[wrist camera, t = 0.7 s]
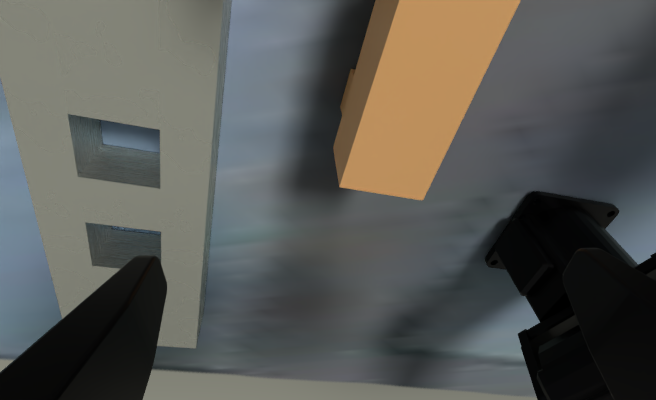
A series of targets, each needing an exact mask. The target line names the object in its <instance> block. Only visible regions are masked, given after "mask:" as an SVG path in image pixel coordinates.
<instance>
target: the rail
mask: <svg viewBox="0 0 656 400" xmlns="http://www.w3.org/2000/svg"><path fill="white" fill-rule="evenodd" d="M231 3H232V0H0V78H1V82H2V85H3V89H4V93H5V97H6V101H7V105H8V109H9V113H10V117H11V121H12V124H13V128H14V132H15V136H16V140H17V144H18V148H19V152H20V156H21V160H22V163H23V167H24V171H25V175H26V179H27V183H28V187H29V191H30V195H31V199H32V202H33V206H34V210H35V214H36V218H37V222H38V226H39V230H40V234H41V238H42V241H43V245H44V249H45V253H46V257H47V261H48V265H49V269H50V273H51V277H52V280H53V284H54V288H55V292H56V296H57V300H58V304H59V308H60V312H61V316H62V319H63V318H64V317H65V316H66V315H67V314H69V313H70V312H71V311H72V310H73V309H74V308H76V307H77V306H78V305H79V304H80V303H81V302H83V301H84V300H85V299H86V298H87V297H88V296H89V295H91V294H92V293H93V292H94V291H95V290H96V289H98V288H99V287H100V286H101V285H102V284H103V283H105V282H106V281H107V280H108V279H109V278H110V277H112V276H113V275H114V274H115V273H116V272H117V271H119V270H120V269H121V268H122V267H123V266H124V265H125V264H127V263H128V262H129V261H130V260H131V259H132V258H134V257H136V256H139V255H155V256H157V257H158V258H159V260H160V262H161V265H162V269H163V272H164V275H165V278H166V281H167V295H166V300H165V305H164V311H163V316H162V322H161V327H160V332H159V338H158V343H157V346H167V347H182V348H196V346H197V341H198V336H199V332H200V327H201V322H202V318H203V313H204V303H205V292H206V281H207V270H208V258H209V247H210V236H211V225H212V214H213V203H214V192H215V181H216V170H217V158H218V147H219V136H220V125H221V114H222V103H223V92H224V81H225V70H226V58H227V47H228V36H229V25H230V14H231ZM100 120H106V121H111V122H117V123H123V124H129V125H135V126H140V127H146V128H152V129H158V130H160V153H153V152H147V151H141V150H135V149H129V148H122V147H116V146H110V145H104V144H103V143H102V134H101V125H100ZM112 226H119V227H127V228H135V229H143V230H151V231H160V232H161V235H156V234H148V233H140V232H132V231H123V230H115V229H112Z"/></svg>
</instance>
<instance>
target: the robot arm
mask: <svg viewBox="0 0 656 400" xmlns="http://www.w3.org/2000/svg"><path fill="white" fill-rule="evenodd" d="M537 198H538V199H537ZM535 199H537V200H535ZM534 200H535V201H534ZM618 213H619V209H618V208H617V207H616V206H615V205H613V204H608V203H603V202H597V201H591V200H586V199H580V198H574V197H568V196H563V195H557V194H551V193H546V192H540V191H535V192H532V193H531V194H529V195H528V196H527V198H526V199H525V201H524V202H523V204H522V205H521V207H520V208H519V210H518V211H517V212H516V214H515V215H514V217H513V218H512V220H511V221H510V223H509V224H508V226H507V227H506V229H505V230H504V232H503V233H502V234H501V236H500V237H499V239H498V240H497V242H496V243H495V245H494V246H493V248H492V249H491V251H490V252H489V253H488V255H487V256H486V258H485V262H486V264H487V266H488V267H491V268H499V269H506V270H507V271H508V273H509V275H510V277H511V278H512V280H513V282H514V284H515V285H516V287H517V289H518V291H519V292H520V294H521V295H522V296H525V297H526V298H527V300H528V302H529V304H530V305H531V307H532V309H533V310H534V312H535V314H536V316H537V317H538V319H539V321H540V323H538V324H537V325H535V326H533V327H532V328H530V329H528V330H527V329H525V330H523V331H521V332H520V333H518V337H519V340H520V343H521V349H522V352H523V355H524V358H525V361H526V365H527V368H528V371H529V374H530V377H531V380H532V383H533V387H534V390H535V393H536V396H537V399H538V400H656V253H654V254H652V255H651V258H649V259H648V260H646V261H644V262H643V263H641V264H639V265H638V264H637V263H636V262H635V261H634V260H633V259H632V257H631V256H630V255H629V254H628V253H627V252H626V251H625V250H624V249H623V248H622V247H621V246H620V245H619V244H618V243H617V241H616V240H615V239H614V238H613V237H612V236H611V235H610V234H609V233H608V232H607V231H606V230H605V228H606V227H607V226H608V225H609V224H610V223H611V222H612V221H613V219H614V218H615V217H616V216H617V215H618ZM166 295H167V281H166V278H165V275H164V272H163V269H162V265H161V262H160V260H159V258H158V257H157V256H155V255H139V256H136V257H134V258H132V259H131V260H130V261H129V262H128V263H127V264H125V265H124V266H123V267H122V268H121V269H120V270H119V271H117V272H116V273H115V274H114V275H113V276H112V277H110V278H109V279H108V280H107V281H106V282H105V283H103V284H102V285H101V286H100V287H99V288H98V289H96V290H95V291H94V292H93V293H92V294H91V295H89V296H88V297H87V298H86V299H85V300H84V301H83V302H81V303H80V304H79V305H78V306H77V307H76V308H74V309H73V310H72V311H71V312H70V313H69V314H67V315H66V316H65V317H64V318H63V319H62V320H60V321H59V322H58V323H57V324H56V325H55V326H53V327H52V328H51V329H50V330H49V331H48V332H47V333H45V334H44V335H43V336H42V337H41V338H40V339H38V340H37V341H36V342H35V343H34V344H33V345H31V346H30V347H29V348H28V349H27V350H26V351H24V352H23V353H22V354H21V355H20V356H19V357H17V358H16V359H15V360H14V361H13V362H12V363H11V364H9V365H8V366H7V367H6V368H5V369H4V370H2V371H1V372H0V400H142V399H143V396H144V393H145V390H146V386H147V383H148V380H149V376H150V373H151V370H152V366H153V363H154V358H155V353H156V348H157V343H158V338H159V332H160V327H161V322H162V316H163V311H164V305H165V300H166Z"/></svg>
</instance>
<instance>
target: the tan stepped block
mask: <svg viewBox="0 0 656 400" xmlns="http://www.w3.org/2000/svg"><path fill="white" fill-rule="evenodd" d="M519 3H520V0H375V4H374V7H373V11H372V14H371V18H370V21H369V25H368V28H367V32H366V35H365V38H364V42H363V45H362V49H361V52H360V56H359V59H358V63H357V66H356V70H355V69H351V70H350V73H349V77H348V81H347V84H346V88H345V91H344V95H343V98H342V102H341V105H340V108H341V112H342V118H341V122H340V125H339V129H338V132H337V136H336V139H335V142H334V146H333V151H334V157H335V163H336V170H337V176H338V182H339V187H341V188H348V189H354V190H360V191H366V192H373V193H379V194H385V195H392V196H398V197H404V198H410V199H417V200H423V199H424V197H425V195H426V193H427V191H428V189H429V187H430V185H431V183H432V181H433V179H434V177H435V174H436V172H437V170H438V168H439V166H440V164H441V162H442V160H443V158H444V156H445V154H446V152H447V150H448V148H449V146H450V144H451V142H452V140H453V138H454V136H455V134H456V131H457V129H458V127H459V125H460V123H461V121H462V119H463V117H464V115H465V113H466V111H467V109H468V107H469V105H470V103H471V101H472V99H473V97H474V95H475V93H476V91H477V89H478V86H479V84H480V82H481V80H482V78H483V76H484V74H485V72H486V70H487V68H488V66H489V64H490V62H491V60H492V58H493V56H494V54H495V52H496V50H497V48H498V46H499V43H500V41H501V39H502V37H503V35H504V33H505V31H506V29H507V27H508V25H509V23H510V21H511V19H512V17H513V15H514V13H515V11H516V9H517V7H518V5H519Z"/></svg>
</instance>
